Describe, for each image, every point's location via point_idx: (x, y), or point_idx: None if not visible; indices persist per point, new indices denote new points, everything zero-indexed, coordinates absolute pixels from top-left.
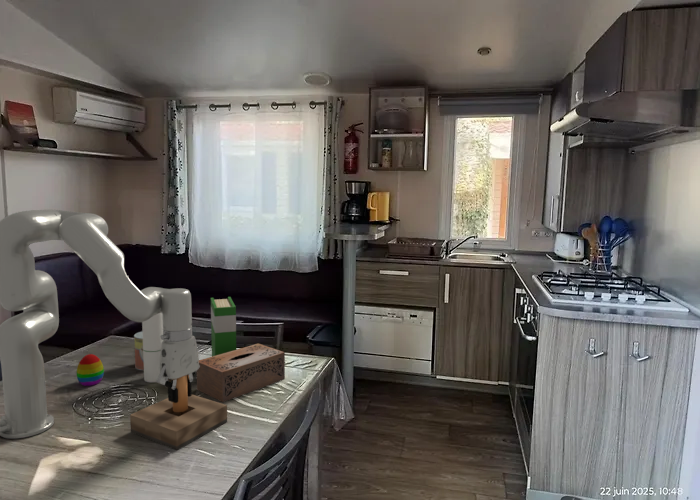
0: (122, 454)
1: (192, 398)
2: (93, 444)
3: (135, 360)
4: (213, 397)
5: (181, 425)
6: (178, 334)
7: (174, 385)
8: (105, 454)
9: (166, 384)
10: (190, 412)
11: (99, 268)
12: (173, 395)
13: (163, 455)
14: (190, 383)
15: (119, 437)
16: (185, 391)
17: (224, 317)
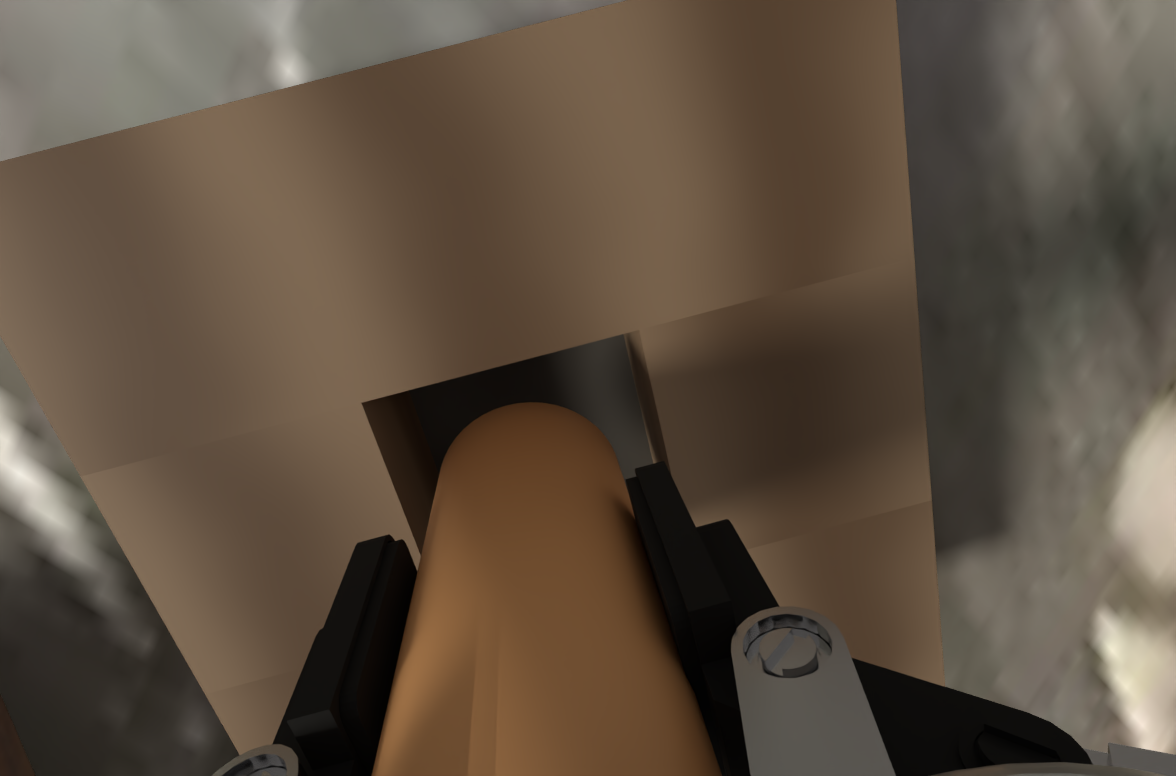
0: (1095, 292)
1: (278, 663)
2: (1109, 571)
3: None
4: (15, 734)
5: (748, 59)
6: None
7: (790, 680)
8: (1157, 382)
9: (1060, 738)
10: (472, 334)
11: None
12: (718, 558)
13: (918, 2)
14: (310, 704)
15: (951, 555)
16: (487, 558)
17: None
